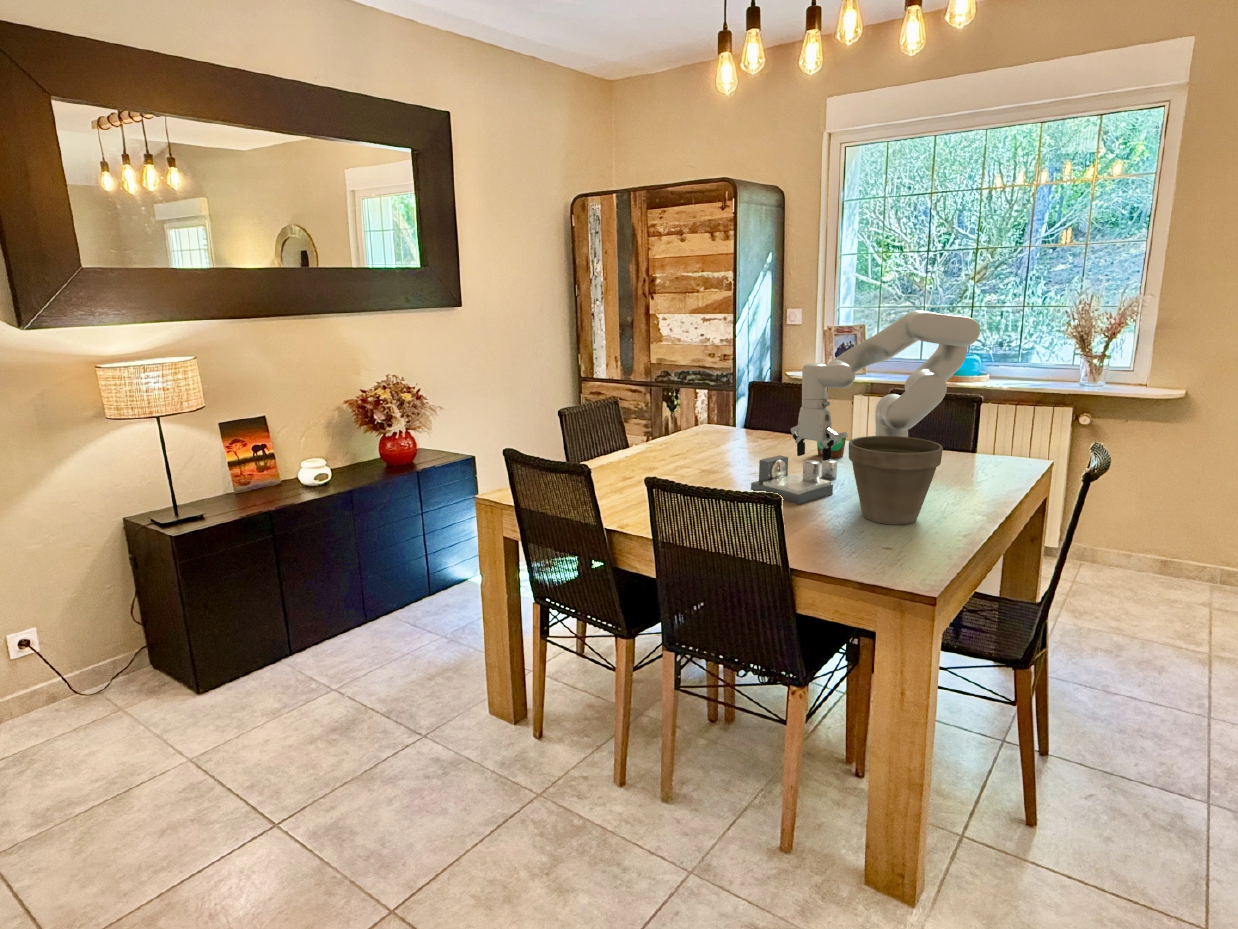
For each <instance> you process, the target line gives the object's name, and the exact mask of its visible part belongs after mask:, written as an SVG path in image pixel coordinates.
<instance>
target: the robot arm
mask: <svg viewBox="0 0 1238 929" xmlns="http://www.w3.org/2000/svg"><path fill="white" fill-rule="evenodd" d="M980 335H981V327H980V325H979V323H978V322H977V320H975V319H974V318H972V317H969V316H964V315H957V314H956V315H955V314H954V315H951V314H945V313H944V314H942V313H937V312H932V311H926V310H921V309H919V310H912V311H909V312H908V313H906V314H905V315H903V316H901V317H900V318H898V319H897V320H896V321H894V322H892V323H890V324H889V325H888V326H887V327H885V328H884V329H882V330H881V331H878V332H877V333H876V334H874V335H873V336H870V337H869V338H867V339H865V340H864V341H862V342H860V343H858V344H856V345H855V346H853V347H850V348H849V349H847V350H846V351H844V352H842V353H841V354H839V355H838V356H837V357H835V358H834V359H833V360H831V361H829V362H828V363H827V365H826V364H825V363H820V362H819V363H817V362H813V363H811V362H810V363H806V364H804V365H803V366H802V369H801V370H802V371H801V372H802V373H801V375H802V376H801V377H802V378H801V407H800V408H799V413H798V419H797V420H798V421H797V425H795V426H793V427H791V428H790V432H791V435H792V438H793V439H794V442H795V444H796V453H797V454H796V456H797V457H801V456H805V455H806V442H805V440H808V441H814V442H815V441H816V442H817V441H821V442H822V444H823V445H824V447H825V448H823V458H822V460H823V461H826V460H829V459H830V458H831V447H833V445H834V444H835V443H836V440H837V439H838V437H839V435H838V434H837V433H838V432H836V431H834V430H833V425H832V424H833V422H832V415H831V410H830V408H829V406H830V405H831V402H830V401H828V388H836V389H846V388H849V387H850V386H851V385H852V384H853V383H854V381H855V379H856V373H858V372H859V371H861V370H863V369H864V368H867V367H868V366H871V365H874V364H879V363H883V362H886V361H888V360H890V359H892V358H894V357H895V356H896V355H898V354H900V353H901V352H902V351H904V350H906V349H907V348H908V347H910V346H912V345H914V344H915V343H917V342H918V341H919V342H926V343H930V344H936V345H937V344H938V346H937V348H936V350H935V351H934V352H933V353H932V355H930V357H929V358H928V359H927V360H926V361H924V363H922V364H921V365H920V366H919V367H917V369H915V371H913V372H912V373H911V374H910V375H908V377H907V378H906V380H905V382H904V390H905V391H904V392H903V393H902V394H901V395H899V394H896V393H890V394H885V395H884V396H882V397H881V398H880V399H879V400H878V402H877V403H876V407H875V414H874V415H875V416H874V417H875V418H874V419H875V436H900V437H909V430H910V429H912V428H914V426H916V425H917V424H918V423H919V422H920V421H922V420H923V419H924V418H925V417H926V416H927V415H928V414H930V413H931V412H932V411H933V410H934V409H935V408H936V407H937V406H938V405H940V403H941V402H942V401H943V399H944V398H945V396H946V393H947V391H948V388H947V387H948V384H947V382H948V381H949V379H951V378H952V376H954V374H956V373H957V371H959V369H960V368H962V366H963V364H964V362H965V360H966V357H967V353H968V348H969V346H971V345H973V344H974V343H976V341H977V340H978V339H979V337H980ZM831 438H832V439H831ZM830 439H831V440H830Z"/></svg>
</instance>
